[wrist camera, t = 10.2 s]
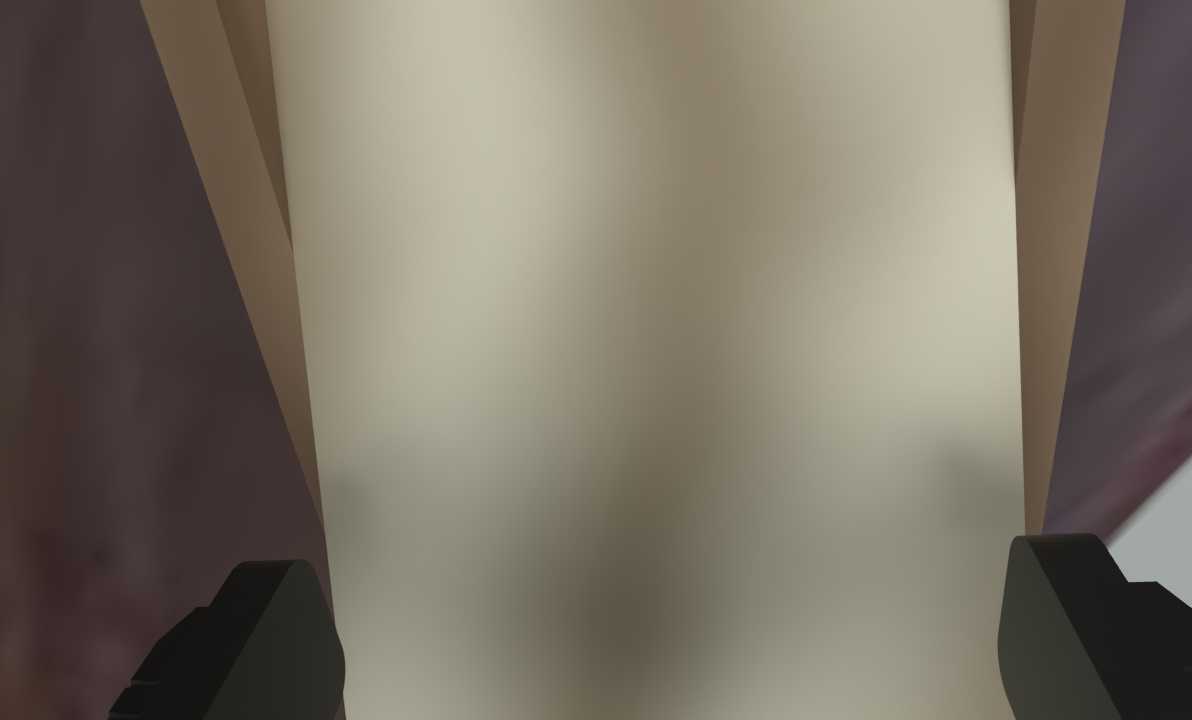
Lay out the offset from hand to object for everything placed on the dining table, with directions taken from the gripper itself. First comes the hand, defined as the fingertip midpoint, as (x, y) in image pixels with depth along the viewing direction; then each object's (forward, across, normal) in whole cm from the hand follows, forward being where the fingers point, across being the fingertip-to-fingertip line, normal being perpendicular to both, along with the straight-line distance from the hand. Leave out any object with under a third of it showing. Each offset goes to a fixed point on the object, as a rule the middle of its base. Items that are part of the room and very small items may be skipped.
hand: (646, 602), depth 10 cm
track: (+7, 0, -13) cm, 15 cm away
